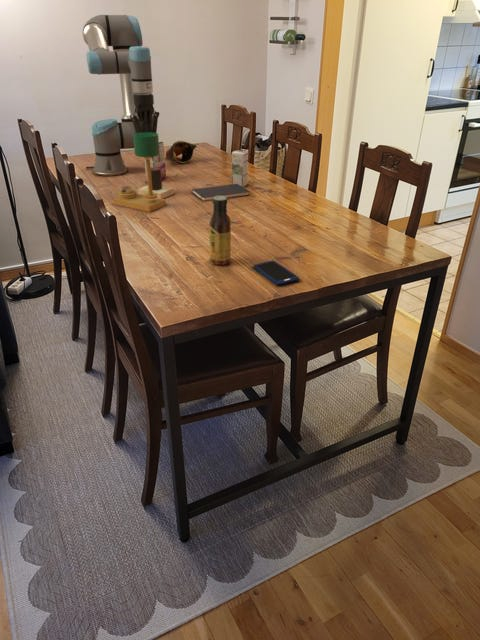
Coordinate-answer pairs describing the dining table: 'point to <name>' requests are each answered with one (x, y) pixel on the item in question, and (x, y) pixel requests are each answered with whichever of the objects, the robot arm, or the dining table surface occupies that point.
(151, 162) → the candy bar box
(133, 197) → the lamp base
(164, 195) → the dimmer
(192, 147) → the pot
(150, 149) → the lamp
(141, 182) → the dining table surface
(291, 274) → the cell phone
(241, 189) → the notebook
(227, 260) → the sauce bottle
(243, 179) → the syrup box
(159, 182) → the dark brown cylinder
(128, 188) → the lamp switch
